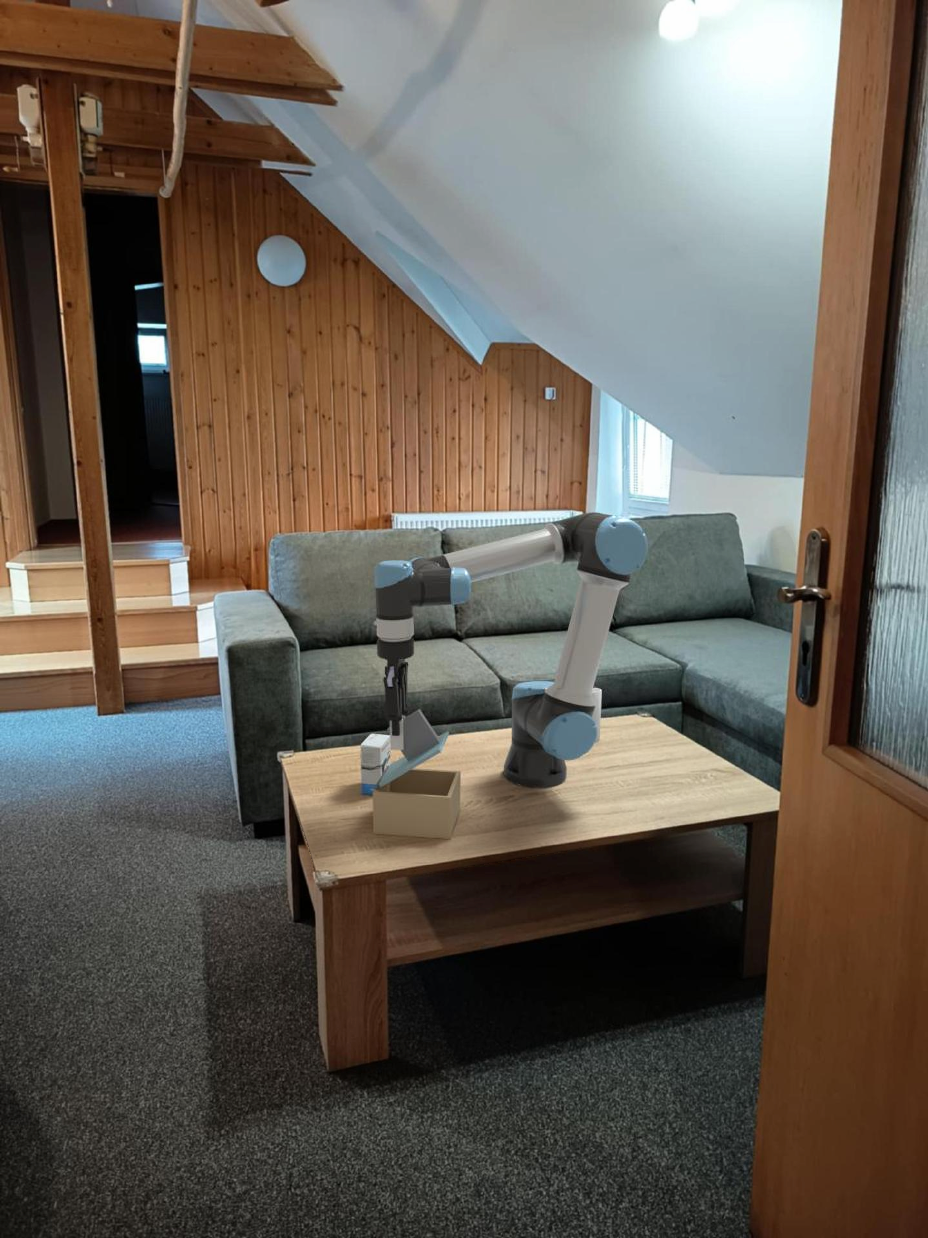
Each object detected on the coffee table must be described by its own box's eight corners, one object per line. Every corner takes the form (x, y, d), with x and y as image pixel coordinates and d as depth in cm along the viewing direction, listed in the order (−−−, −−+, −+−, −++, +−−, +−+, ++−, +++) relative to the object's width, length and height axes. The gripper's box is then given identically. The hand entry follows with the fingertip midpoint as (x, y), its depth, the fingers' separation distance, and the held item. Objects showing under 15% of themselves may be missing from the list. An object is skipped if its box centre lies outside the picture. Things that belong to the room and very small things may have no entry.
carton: (460, 810, 187) (460, 771, 185) (450, 839, 173) (450, 797, 171) (388, 805, 189) (388, 767, 187) (373, 833, 175) (372, 792, 173)
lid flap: (449, 734, 182) (426, 700, 181) (440, 752, 171) (416, 716, 170) (388, 769, 185) (365, 736, 185) (375, 790, 175) (352, 755, 174)
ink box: (381, 796, 194) (380, 747, 191) (360, 794, 195) (359, 745, 192) (391, 781, 202) (391, 734, 199) (371, 779, 203) (371, 732, 200)
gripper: (385, 629, 181) (388, 734, 186) (368, 645, 167) (372, 759, 172) (420, 629, 180) (422, 736, 185) (406, 646, 166) (409, 760, 171)
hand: (398, 747), depth 178 cm, fingers closed on lid flap, 1 cm apart
